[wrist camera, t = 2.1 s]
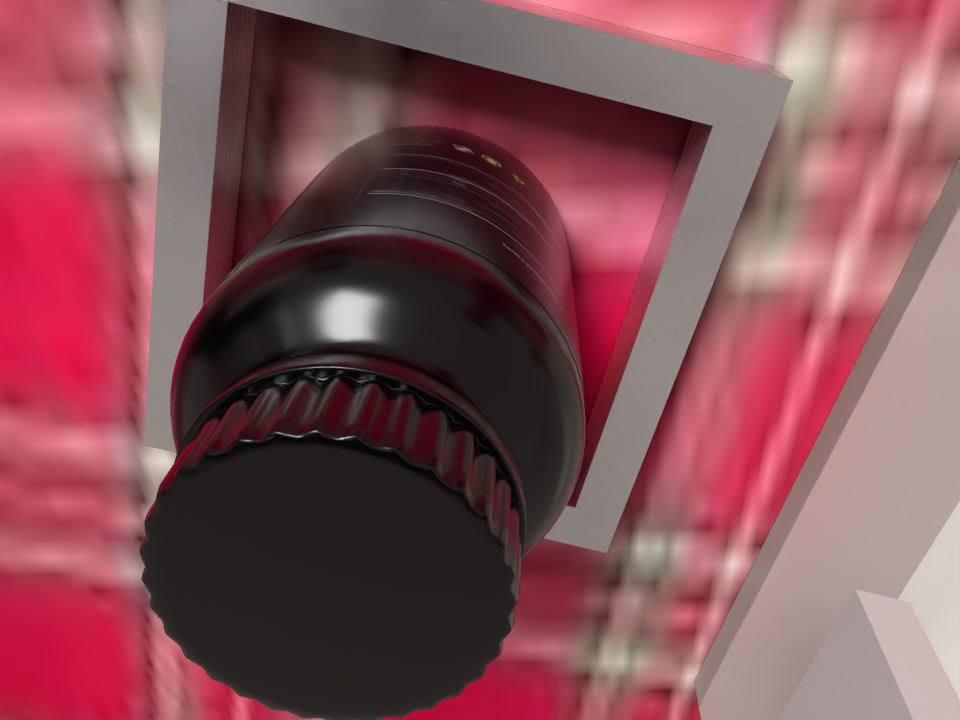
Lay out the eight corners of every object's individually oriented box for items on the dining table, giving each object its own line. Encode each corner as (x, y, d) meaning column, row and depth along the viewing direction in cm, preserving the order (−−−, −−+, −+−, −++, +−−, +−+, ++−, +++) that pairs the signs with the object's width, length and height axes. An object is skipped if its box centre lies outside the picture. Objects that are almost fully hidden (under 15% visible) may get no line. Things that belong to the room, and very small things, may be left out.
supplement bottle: (494, 416, 23) (445, 839, 12) (261, 307, 22) (-7, 666, 11) (626, 200, 20) (711, 518, 9) (364, 61, 19) (128, 242, 8)
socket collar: (174, 405, 24) (144, 444, 22) (208, -81, 18) (171, -81, 16) (602, 506, 24) (606, 552, 22) (770, 64, 18) (793, 80, 17)
